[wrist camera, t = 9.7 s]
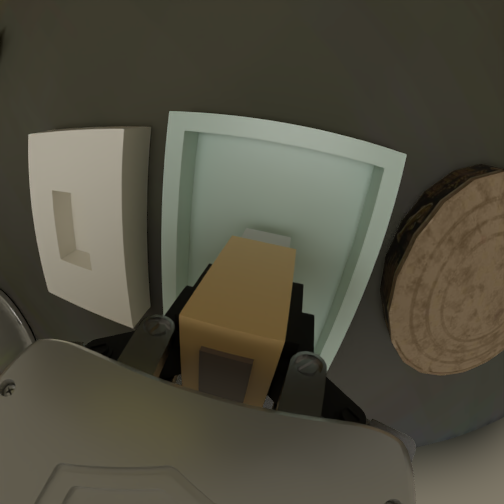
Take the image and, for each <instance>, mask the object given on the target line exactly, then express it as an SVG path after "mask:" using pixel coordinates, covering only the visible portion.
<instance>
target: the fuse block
mask: <svg viewBox="0 0 504 504" xmlns="http://www.w3.org/2000/svg"><path fill="white" fill-rule="evenodd" d="M150 137H151V127H134V126H116V127H84V128H69V129H57V130H50V131H44V132H38V133H33V134H29V138H28V159H29V182H30V195H31V204H32V213H33V220H34V227H35V233H36V239H37V244H38V249H39V254H40V259H41V264H42V268H43V272H44V276H45V280H46V284H47V287H48V291H49V292H50V293H52V294H54V295H56V296H58V297H60V298H63V299H65V300H67V301H69V302H71V303H73V304H75V305H78V306H80V307H82V308H84V309H86V310H89V311H91V312H93V313H96V314H98V315H100V316H103V317H105V318H108V319H110V320H113V321H115V322H118V323H120V324H123V325H125V326H128V327H131V328H134V327H135V326H136V324H137V323H138V322H139V320H140V319H141V318H142V317H143V315H144V314H145V313H146V312H147V310H148V309H149V308H150V307H151V304H150V291H149V276H148V253H147V187H148V165H149V149H150Z"/></svg>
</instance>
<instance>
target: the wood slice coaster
mask: <svg viewBox="0 0 504 504" xmlns="http://www.w3.org/2000/svg"><path fill="white" fill-rule="evenodd" d="M380 292H381V298H382V305H383V313H384V318H385V322H386V325H387V328H388V331H389V335H390V338H391V341H392V343H393V345H394V347H395V348H396V350H397V352H398V354H399V355H400V357H401V359H402V360H403V362H405V363H406V364H408V365H409V366H411V367H413V368H414V369H416V370H417V371H419V372H421V373H427V374H434V375H441V376H442V375H449V374H455V373H460V372H465V371H467V370H470V369H472V368H474V367H477V366H479V365H481V364H483V363H485V362H487V361H489V360H490V359H492V358H493V357H494V356H496V355H497V354H499V353H500V352H501V351H503V350H504V169H500V168H496V167H492V166H487V165H483V164H479V165H475V166H471V167H467V168H463V169H459V170H455V171H452V172H451V173H450V174H448V175H447V176H446V177H444V178H443V179H441V180H440V181H439V182H437V183H436V184H434V185H433V186H432V187H430V188H429V189H427V190H426V191H425V192H424V193H423V195H422V196H421V197H420V199H419V200H418V201H417V203H416V204H415V205H414V206H413V208H412V209H411V210H410V211H409V213H408V214H407V215H406V216H405V218H404V219H403V220H402V221H401V224H400V226H399V229H398V231H397V233H396V235H395V238H394V240H393V242H392V244H391V246H390V249H389V251H388V253H387V255H386V259H385V265H384V271H383V277H382V282H381V288H380Z"/></svg>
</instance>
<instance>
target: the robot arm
mask: <svg viewBox="0 0 504 504" xmlns="http://www.w3.org/2000/svg"><path fill="white" fill-rule="evenodd" d="M211 266H212V264H210V263H209V264H208V266H207V267H206V269H205V270H204V271H203V273H202V274H201V276H200V277H199V279H198V280H197V282H196V283H195V284H194V286H193V287H192V286H188V285H187V286H186V287H185V288H184V289H183V290H182V292H181V293H180V294H179V296H178V297H177V299H176V300H175V301H174V303H173V304H172V306H171V307H170V308H169V310H168V311H167V312H166V314H165V315H150V316H147V317H146V318H144V319H143V320H142V321H141V322H140V324H139V325H138V327H137V329H136V330H135V331H132V332H128V333H123V334H118V335H114V336H109V337H105V338H100V339H96V340H93V341H91V342H89V343H88V344H87V345H85V344H84V342H69V341H64V340H57V339H41V340H38V341H35V339H34V336H33V334H32V332H31V330H30V328H29V326H28V324H27V323H26V321H25V319H24V318H23V316H22V315H21V313H20V312H19V310H18V309H17V307H16V306H15V305H14V303H13V302H12V301H11V300H10V298H9V297H8V296H7V295H6V294H5V293H4V292H2V291H1V290H0V504H415V503H416V500H415V484H414V475H413V468H412V464H411V462H412V459H413V456H414V454H415V449H416V446H415V442H414V441H413V439H412V438H411V437H409V436H408V435H406V434H404V433H402V432H399V431H397V430H395V429H393V428H391V427H389V426H387V425H385V424H383V423H381V422H378V421H376V420H374V419H372V420H371V421H370V420H368V419H366V416H365V414H364V412H363V411H362V409H361V408H360V407H359V406H357V405H356V404H355V403H354V402H353V401H352V400H351V399H350V398H349V397H347V396H346V395H345V394H344V393H343V392H342V391H341V390H340V389H339V388H338V387H337V386H336V385H334V384H333V383H332V382H331V381H330V380H329V379H328V378H327V377H326V374H327V365H326V363H325V361H324V359H323V358H322V357H321V356H319V355H317V354H316V353H314V315H313V314H308V313H303V312H302V306H303V288H304V284H300V283H295V282H293V284H292V292H291V300H290V308H289V316H288V323H287V331H286V338H285V343H284V346H283V349H282V352H281V355H280V358H279V361H278V364H277V367H276V370H275V373H274V376H273V379H272V382H271V385H270V387H269V390H268V393H267V395H268V396H269V397H270V398H271V399H272V400H273V401H274V403H273V406H272V409H267V408H263V407H258V406H253V405H249V404H245V403H241V402H236V401H232V400H229V399H225V398H221V397H217V396H214V395H210V394H207V393H203V392H200V391H197V390H194V389H190V388H187V387H184V386H181V385H178V384H175V383H176V380H177V376H178V375H179V374H181V357H180V332H179V314H180V313H181V311H182V309H183V308H184V306H185V305H186V303H187V302H188V300H189V299H190V297H191V296H192V294H193V293H194V291H195V290H196V288H197V287H198V285H199V284H200V282H201V281H202V279H203V278H204V276H205V275H206V273H207V272H208V270H209V269H210V267H211Z"/></svg>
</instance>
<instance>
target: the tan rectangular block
mask: <svg viewBox="0 0 504 504" xmlns="http://www.w3.org/2000/svg"><path fill="white" fill-rule="evenodd" d="M290 241H291V237H287V236H282V235H278V234H273V233H268V232H264V231H259V230H254V229H249V228H246V229H245V231H244V233H243V234H242V236H241V237H237V236H231V238H230V239H229V241H228V242H227V244H226V245H225V247H224V248H223V249H222V251H221V252H220V254H219V255H218V257H217V258H216V260H215V261H214V263H213V264H212V266H211V267H210V269H209V270H208V272H207V273H206V275H205V276H204V278H203V279H202V281H201V282H200V284H199V285H198V287H197V288H196V290H195V291H194V293H193V294H192V296H191V297H190V299H189V300H188V302H187V303H186V305H185V306H184V308H183V309H182V311H181V313H180V314H179V332H180V357H181V375H182V386H184V387H187V388H190V389H194V390H197V391H200V392H203V393H207V394H210V395H214V396H217V397H221V398H225V399H229V400H232V401H236V402H241V403H245V404H249V405H253V406H258V407H263V404H264V401H265V399H266V396H267V393H268V390H269V387H270V385H271V382H272V379H273V376H274V373H275V370H276V367H277V364H278V361H279V358H280V355H281V352H282V349H283V346H284V343H285V338H286V331H287V323H288V316H289V308H290V300H291V292H292V284H293V275H294V266H295V257H296V249H293V248H289V247H290Z"/></svg>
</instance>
